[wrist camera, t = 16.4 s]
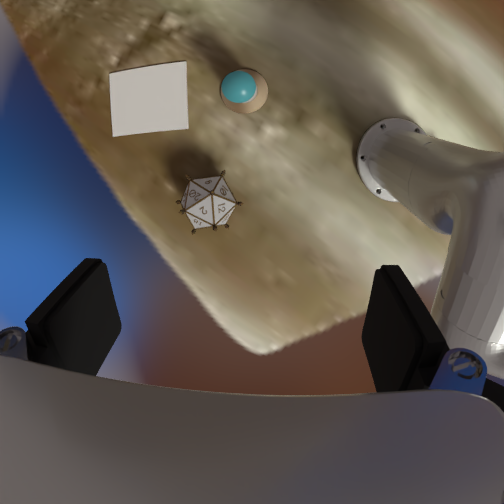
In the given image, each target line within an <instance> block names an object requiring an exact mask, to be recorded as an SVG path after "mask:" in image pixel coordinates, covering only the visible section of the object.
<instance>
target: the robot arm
mask: <svg viewBox="0 0 504 504" xmlns="http://www.w3.org/2000/svg"><path fill="white" fill-rule="evenodd" d="M380 125H382V126H383V127H382V128H380ZM415 129H416V132H415ZM361 156H363V158H362V159H361ZM356 161H357V169H358V172H359V175H360V178H361V180H362V182H363V183H364V185H365V186H366V187H367V188H368V189H369V190H370V191H371V192H372V193H373V194H374V195H375V196H377V197H379V198H381V199H383V200H386V201H390V202H400V203H401V204H402V205H403V206H405V207H406V208H407V209H408V210H409V211H410V212H412V213H413V214H414V215H415V216H416V217H417V218H418V219H420V220H421V221H422V222H423V223H424V224H426V225H427V226H428V227H429V228H431V229H432V230H434V231H436V232H439V233H441V234H446V235H451V239H450V243H449V247H448V254H447V258H446V261H445V265H444V269H443V272H442V276H441V279H440V283H439V286H438V289H437V292H436V296H435V300H434V303H433V306H432V310H431V314H430V313H429V311H428V310H427V308H426V306H425V305H424V303H423V302H422V300H421V298H420V297H419V295H418V294H417V293H416V291H415V289H414V288H413V286H412V284H411V283H410V281H409V280H408V278H407V277H406V275H405V274H404V272H403V271H402V269H401V268H400V267H399V266H398V265H382V266H381V268H380V269H377V270H376V271H375V275H374V280H373V285H372V290H371V295H370V300H369V304H368V309H367V313H366V318H365V323H364V326H363V331H362V343H363V347H364V350H365V353H366V356H367V360H368V363H369V367H370V370H371V373H372V377H373V380H374V384H375V388H376V391H377V392H376V393H362V394H343V395H308V396H307V395H302V396H300V395H295V396H292V395H288V396H287V395H252V394H234V393H219V392H206V391H195V390H185V389H176V388H168V387H160V386H153V385H146V384H139V383H132V382H126V381H120V380H114V379H108V378H103V377H98V376H96V375H97V373H98V371H99V369H100V367H101V365H102V364H103V362H104V360H105V358H106V356H107V355H108V353H109V351H110V349H111V348H112V346H113V344H114V342H115V341H116V339H117V337H118V335H119V334H120V331H121V321H120V317H119V313H118V310H117V306H116V302H115V299H114V295H113V291H112V287H111V282H110V278H109V274H108V270H107V266H106V264H105V263H103V262H102V260H101V259H95V258H94V259H93V258H86V259H84V260H83V261H82V262H81V263H80V264H79V265H78V266H77V267H76V268H75V269H74V270H73V271H72V272H71V273H70V274H69V275H68V276H67V277H66V278H65V279H64V280H63V281H62V282H61V283H60V284H59V285H58V286H57V287H56V288H55V289H54V290H53V291H52V292H51V293H50V295H49V296H48V297H47V298H46V299H45V300H44V301H43V302H42V303H41V304H40V305H39V306H38V307H37V308H36V310H35V311H34V312H33V313H32V314H31V315H30V316H29V317H28V318H27V320H26V321H25V323H26V325H27V327H28V331H27V332H26V333H25V331H24V330H23V329H22V328H20V327H9V328H6V329H3V330H2V331H0V504H504V387H503V386H502V385H499V384H497V383H495V382H493V381H491V380H489V379H487V378H486V376H487V374H490V375H493V376H496V377H498V378H501V379H504V152H493V151H484V150H478V149H474V148H471V147H467V146H463V145H460V144H456V143H452V142H449V141H445V140H442V139H438V138H435V137H431V136H427V134H426V133H425V132H424V131H423V130H422V129H421V128H420V127H419V126H418V125H416V124H415V123H413V122H411V121H409V120H405V119H401V118H387V119H384V120H381V121H379V122H377V123H375V124H373V125H372V126H371V127H370V128H369V129H368V130H367V131H366V132H365V134H364V135H363V137H362V139H361V141H360V143H359V146H358V149H357V157H356ZM377 189H378V191H376V190H377Z"/></svg>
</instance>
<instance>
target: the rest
mask: <svg viewBox="0 0 504 504" xmlns="http://www.w3.org/2000/svg"><path fill="white" fill-rule="evenodd" d="M237 71H244V72H246V73H248V74H250V75H251V76H252V77H253V79H254V81H255V83H256V85H257V87H258V94H257V96H256V98H255V99H254V100H253V101H251V102H249V103H235V102H232V101H230V100H228V99H227V98H226V97H225V96H224V94H223V92H222V86H221V97H222V100H223V102H224V103H225V105H226V106H227V107H228V108H229V109H231V110H232V111H234V112H237V113H244V114H245V113H251V112H254V111H256V110H258V109H259V108H260V107H262V106H263V104H264V103H265V101H266V99H267V96H268V86H267V83H266V81H265V79H264V78H263V77H262V76H261V75H260V74H259V73H257V72H255V71H253V70H249V69H240V70H237Z"/></svg>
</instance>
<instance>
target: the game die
mask: <svg viewBox="0 0 504 504" xmlns="http://www.w3.org/2000/svg"><path fill="white" fill-rule="evenodd" d="M224 174H225V170H224V171H222V173H221V175H220V176H211V177H203V178H196V179H190V177H189V176H188V175H186V178H187V180H189V182H188V185H187V187H186V189H185V192H184V194H183V197H182V200H181V201H180V200H179V201H178V200H177V201H176V203H177V204H180V203H181V205H182V208H183V210H180V212H179V213H180V214H184V212H185V214H186V216H187V218H188V219H189V221H190V223H191V224H192V226H193V228H194V229H193V230H192V231H191V232H192V235H193V234H194V233H195V232H196V230H197V229H203V228H209V227H213V230H215V231H217V227H216V226H222V225H225V228H227V229H229V226H228V224H226V223H227V221H228V219H229V218H230V216H231V214H232V212H233V211H234V209H235V207H236V205H240V206H241V205H242V204H243V203H242V202H237V201H236V199H235V198H234V196H233V194H232V192H231V190H230V188H229V187H228V185H227V183H226V181H225V179H224V178H223V176H224Z"/></svg>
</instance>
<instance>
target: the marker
mask: <svg viewBox="0 0 504 504" xmlns="http://www.w3.org/2000/svg"><path fill="white" fill-rule="evenodd" d="M222 92H223V94H224V96H225V97H226V98H227V99H228V100H230V101H232V102H235V103H249V102H251V101H253V100H254V99H255V98H256V96H257V94H258V87H257V85H256V83H255V81H254V79H253V77H252V76H251V75H250V74H248V73H246V72H244V71H234V72H231V73H229V74H228V75H227V76H226V77H225V78H224V80H223V82H222Z"/></svg>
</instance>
